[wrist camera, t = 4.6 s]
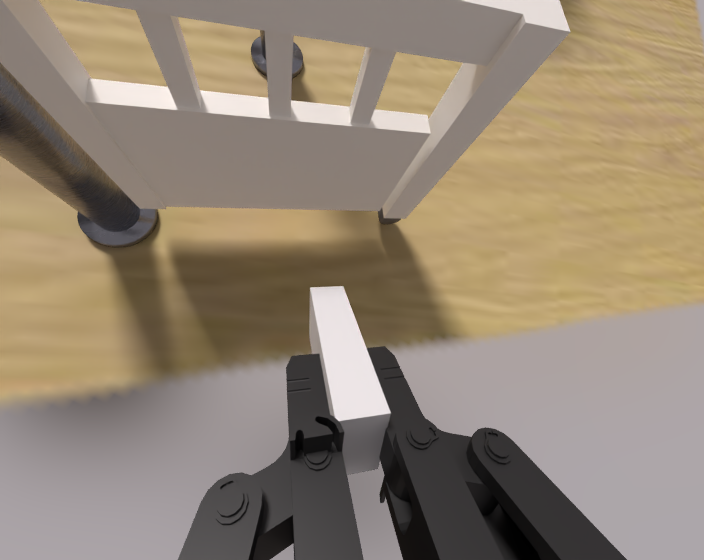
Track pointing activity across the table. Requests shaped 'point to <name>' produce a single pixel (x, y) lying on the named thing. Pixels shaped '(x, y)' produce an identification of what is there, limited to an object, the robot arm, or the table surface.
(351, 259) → the table surface
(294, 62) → the latch post
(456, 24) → the gate
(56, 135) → the hinge post
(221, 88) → the table surface
